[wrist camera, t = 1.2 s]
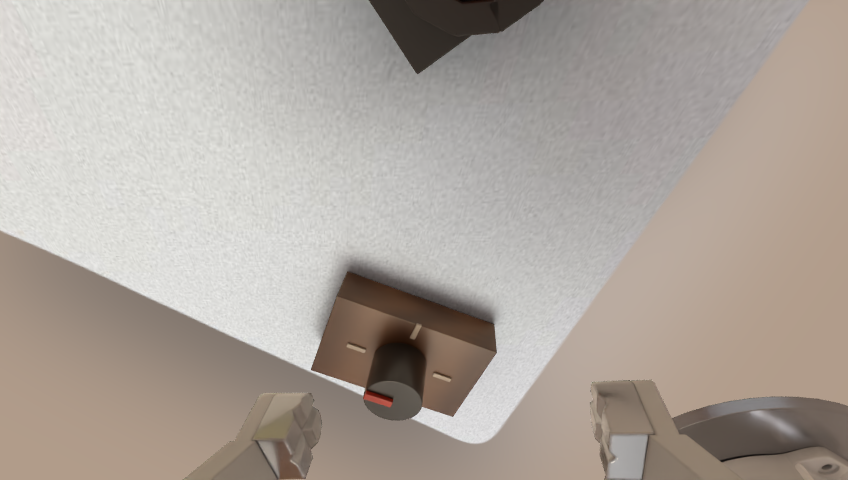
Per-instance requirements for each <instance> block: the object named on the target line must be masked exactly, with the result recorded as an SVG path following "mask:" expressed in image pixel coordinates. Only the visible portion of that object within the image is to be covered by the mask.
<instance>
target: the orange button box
mask: <svg viewBox="0 0 848 480" xmlns="http://www.w3.org/2000/svg"><path fill="white" fill-rule="evenodd" d="M369 1H370V3H371V4H372V6H373V7H374V9H375V10H376V12H377V13H378V15H379V16H380V18H381V19H382V21H383V23H384V24H385V26H386V27H387V29H388V30H389V32H390V33H391V35H392V36H393V38H394V39H395V41H396V43H397V44H398V46H399V47H400V49H401V50H402V52H403V53H404V55H405V56H406V58H407V60H408V61H409V63H410V64H411V66H412V67H413V69H414V70H415V72H416V73H417V74H419V73H420V72H422V71H423V70H424V69H426V68H427V67H428V66H430V65H431V64H433V63H434V62H435V61H437V60H438V59H439V58H441V57H442V56H444V55H445V54H446V53H448V52H449V51H450V50H452V49H453V48H454V47H456V46H457V45H459V44H460V43H461V42H463V41H464V40H465V39H467V38H468V37H470V36H471V35H479V34H491V33H499V32H502V31H504V30H505V29H506V28H508V27H509V26H511V25H512V24H513V23H515V22H516V21H518V20H519V19H520V18H522V17H523V16H525V15H526V14H527V13H529V12H530V11H532V10H533V9H534V8H536V7H537V6H539V5H540V4H541V2H543V1H544V0H369Z"/></svg>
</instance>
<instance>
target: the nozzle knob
mask: <svg viewBox="0 0 848 480" xmlns="http://www.w3.org/2000/svg"><path fill="white" fill-rule="evenodd" d="M425 375H426V360H425V357H424V356H423V354H422V353H421V352H420V351H419V350H418V349H416V348H415V347H413V346H410V345H408V344H404V343H390V344H386V345H384V346H382V347H380V348H379V349H378V350H377V351H376V352H375V354H374V357H373V361H372V364H371V368H370V372H369V376H368V380H367V384H366V388H365V392H364V397H363V399H364V403H365V405H366V406H367V408H368V409H369V410H370V411H371V412H372V413H374V414H375V415H377V416H379V417H382V418H384V419H388V420H406V419H409V418H412V417H414V416H415V415H417V414H418V413H419V411H420V410H421V408H422V403H423V393H424V384H425Z"/></svg>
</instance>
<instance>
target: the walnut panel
mask: <svg viewBox="0 0 848 480" xmlns="http://www.w3.org/2000/svg"><path fill="white" fill-rule="evenodd" d="M390 343H404V344H408V345H410V346H413V347H415V348H416V349H418V350H419V351H420V352H421V353H422V354H423V356H424V357H425V360H426V375H425V384H424V393H423V403H422V407H425V408H428V409H431V410H434V411H437V412H440V413H443V414H446V415H449V416H452V417H453V416H454V414H455V413H456V411H457V410H458V408H459V407H460V406H461V404H462V403H463V401H464V400H465V398H466V397H467V395H468V394H469V392H470V391H471V389H472V388H473V386H474V385H475V384H476V382H477V381H478V379H479V378H480V376H481V375H482V373H483V372H484V370H485V369H486V367H487V366H488V364H489V363H490V362H491V360H492V359H493V357H494V356H495V354H496V353H497V350H496V339H495V327H494V324H492V323H489V322H486V321H484V320H481V319H478V318H475V317H473V316H470V315H467V314H464V313H461V312H459V311H456V310H453V309H450V308H448V307H445V306H442V305H439V304H437V303H434V302H431V301H428V300H426V299H423V298H420V297H417V296H414V295H412V294H409V293H406V292H403V291H401V290H398V289H395V288H392V287H390V286H387V285H384V284H381V283H378V282H376V281H373V280H370V279H367V278H365V277H362V276H359V275H356V274H354V273H351V272H347V274H346V276H345V278H344V281H343V283H342V285H341V288H340V290H339V292H338V295H337V297H336V300H335V303H334V306H333V308H332V311H331V314H330V317H329V320H328V323H327V325H326V328H325V331H324V334H323V337H322V340H321V343H320V345H319V348H318V351H317V354H316V357H315V360H314V362H313V365H312V368H311V370H313V371H316V372H319V373H322V374H325V375H328V376H331V377H334V378H337V379H340V380H343V381H346V382H349V383H352V384H355V385H358V386H361V387H364V388H366V384H367V380H368V376H369V372H370V368H371V364H372V361H373V357H374V354H375V352H376V351H377V350H378V349H379V348H380V347H382V346H384V345H386V344H390Z"/></svg>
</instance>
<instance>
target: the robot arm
mask: <svg viewBox="0 0 848 480" xmlns="http://www.w3.org/2000/svg"><path fill="white" fill-rule="evenodd" d="M591 395H592V398H593V401H591V402H590V415H591V423H592V428H593V432H594V436H595V439H596V440H597V441H598V442H599V443H600V457H601V461H602V464H603V468H604V471H605V474H606V478H607V479H612V480H848V461H846V460H845V459H843V458H842V457H840V456H838V455H837V454H835V453H833V452H832V451H830V450H828V449H827V448H825V447H819V446H816V447H808V448H804V449H799V450H796V451H792V452H788V453H784V454H777V455H761V456H750V457H743V458H737V459H732V460H728V461H725V462H721V461H719V460H718V459H717V458H715V457H714V456H713V455H712V454H710V453H709V452H708V451H706V450H705V449H704V448H703V447H701V446H700V445H699V444H697V443H696V442H695V441H694V440H692V439H691V438H690V437H688V436H687V435H682V434H679V432H678V430H677V428H676V426H675V424H674V422H673V420H672V418H671V416H670V414H669V412H668V410H667V408H666V405H665V403H664V401H663V400H662V397H661V396H660V393H659V391H658V389H657V387H656V385H655V383H654V382H653V381H652V380H632V381H630V380H624V381H603V382H592V384H591ZM313 402H314V399H313V396H312V395H311V393H263V394H261V395H260V396H259V397H258V398H257V400H256V402H255V404H254V406H253V408H252V409H251V411H250V413H249V415H248V417H247V419H246V421H245V423H244V424H243V426H242V428H241V430H240V432H239V433H238V435H237V437H236V439H235V441H230V442H229V443H227V444H226V445H225V446H224V447H222V448H221V449H220V450H219V451H218V452H216V453H215V454H214V455H213V456H211V457H210V458H209V459H208V460H207V461H205V462H204V463H203V464H202V465H201V466H199V467H198V468H197V469H196V470H194V471H193V472H192V473H191V474H190V475H188V476H187V477H186V478H185V479H183V480H282V479H305V478H306V475H307V473H308V470H309V467H310V464H311V461H312V459H313V455H312V453H311V449H312V448H313V447H314V446H315V445H316V444H317V443H318V441H319V438H320V435H321V428H322V420H321V415H320V413H319V410H318V409H316V408H315V407H313V406H312V405H313Z"/></svg>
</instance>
